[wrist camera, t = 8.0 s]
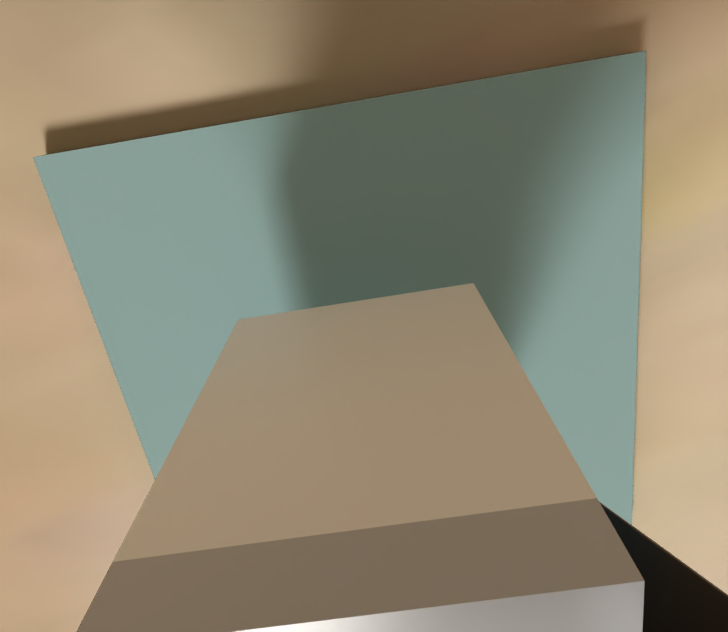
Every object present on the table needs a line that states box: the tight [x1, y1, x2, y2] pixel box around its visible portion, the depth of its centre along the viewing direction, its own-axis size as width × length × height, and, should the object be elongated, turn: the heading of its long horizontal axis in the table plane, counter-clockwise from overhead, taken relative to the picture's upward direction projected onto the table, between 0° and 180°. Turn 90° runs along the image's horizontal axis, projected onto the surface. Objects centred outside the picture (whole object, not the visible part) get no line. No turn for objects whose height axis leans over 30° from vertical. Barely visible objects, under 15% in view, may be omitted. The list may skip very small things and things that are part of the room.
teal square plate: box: [33, 51, 646, 525], centre depth 12 cm, size 11×11×1 cm
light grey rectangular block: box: [77, 283, 645, 632], centre depth 8 cm, size 4×5×6 cm
